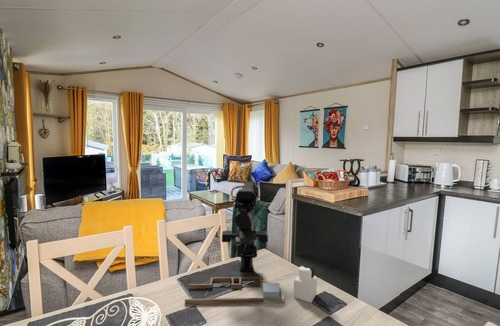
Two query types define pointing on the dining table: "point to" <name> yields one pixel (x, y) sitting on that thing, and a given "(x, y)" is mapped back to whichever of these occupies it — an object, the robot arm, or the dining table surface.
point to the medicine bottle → (305, 283)
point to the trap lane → (219, 282)
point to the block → (270, 290)
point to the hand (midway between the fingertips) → (244, 256)
